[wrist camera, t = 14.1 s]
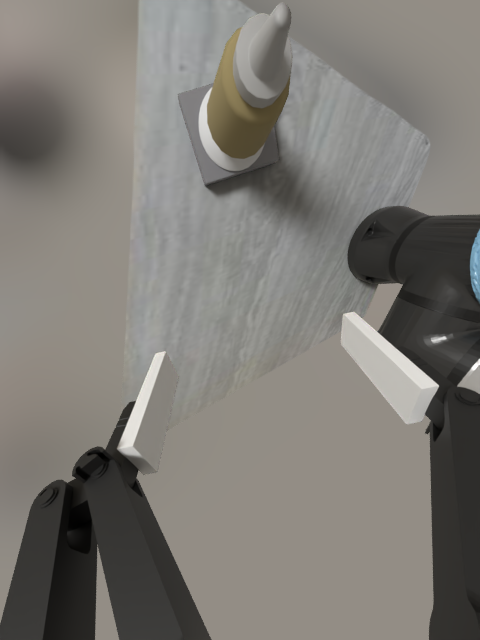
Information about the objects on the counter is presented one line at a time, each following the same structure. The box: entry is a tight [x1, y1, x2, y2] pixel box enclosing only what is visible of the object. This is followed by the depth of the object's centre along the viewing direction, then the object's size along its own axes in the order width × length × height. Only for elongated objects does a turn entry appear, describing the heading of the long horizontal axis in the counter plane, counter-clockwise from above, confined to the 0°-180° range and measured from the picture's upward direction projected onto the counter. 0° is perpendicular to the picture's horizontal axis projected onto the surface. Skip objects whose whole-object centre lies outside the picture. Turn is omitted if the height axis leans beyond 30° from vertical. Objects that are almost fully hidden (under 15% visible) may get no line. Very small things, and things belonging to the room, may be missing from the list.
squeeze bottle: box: [207, 3, 293, 159], centre depth 21 cm, size 8×8×18 cm
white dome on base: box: [178, 83, 279, 186], centre depth 29 cm, size 12×10×3 cm
